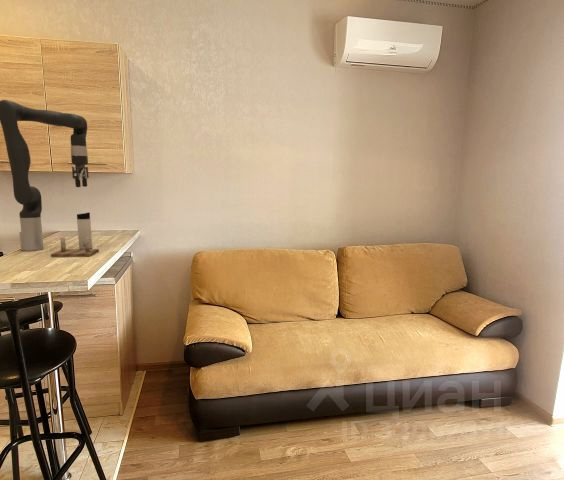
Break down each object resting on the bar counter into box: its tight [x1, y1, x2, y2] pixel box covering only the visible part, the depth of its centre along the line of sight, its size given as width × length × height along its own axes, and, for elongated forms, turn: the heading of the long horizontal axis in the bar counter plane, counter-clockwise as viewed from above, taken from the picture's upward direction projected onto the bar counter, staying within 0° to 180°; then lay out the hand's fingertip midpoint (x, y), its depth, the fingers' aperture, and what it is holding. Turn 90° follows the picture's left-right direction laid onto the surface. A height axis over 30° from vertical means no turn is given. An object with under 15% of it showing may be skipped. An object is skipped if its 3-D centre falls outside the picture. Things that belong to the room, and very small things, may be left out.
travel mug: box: [76, 212, 93, 249], centre depth 199 cm, size 6×7×20 cm
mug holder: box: [50, 237, 100, 258], centre depth 188 cm, size 18×12×8 cm, turn 97°
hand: (81, 186), depth 195 cm, fingers open, 8 cm apart
